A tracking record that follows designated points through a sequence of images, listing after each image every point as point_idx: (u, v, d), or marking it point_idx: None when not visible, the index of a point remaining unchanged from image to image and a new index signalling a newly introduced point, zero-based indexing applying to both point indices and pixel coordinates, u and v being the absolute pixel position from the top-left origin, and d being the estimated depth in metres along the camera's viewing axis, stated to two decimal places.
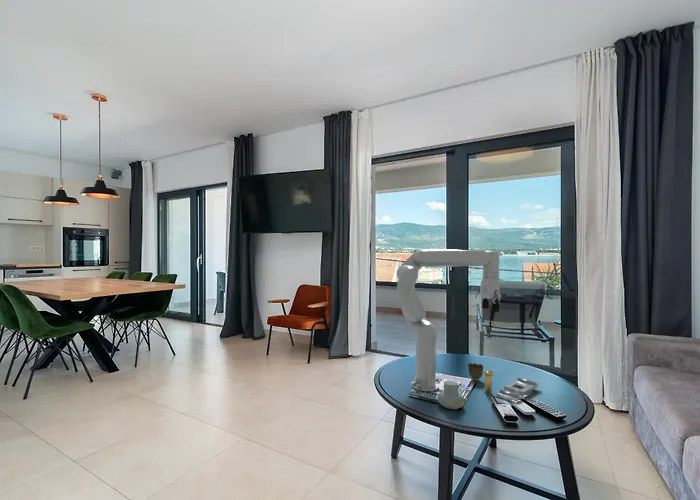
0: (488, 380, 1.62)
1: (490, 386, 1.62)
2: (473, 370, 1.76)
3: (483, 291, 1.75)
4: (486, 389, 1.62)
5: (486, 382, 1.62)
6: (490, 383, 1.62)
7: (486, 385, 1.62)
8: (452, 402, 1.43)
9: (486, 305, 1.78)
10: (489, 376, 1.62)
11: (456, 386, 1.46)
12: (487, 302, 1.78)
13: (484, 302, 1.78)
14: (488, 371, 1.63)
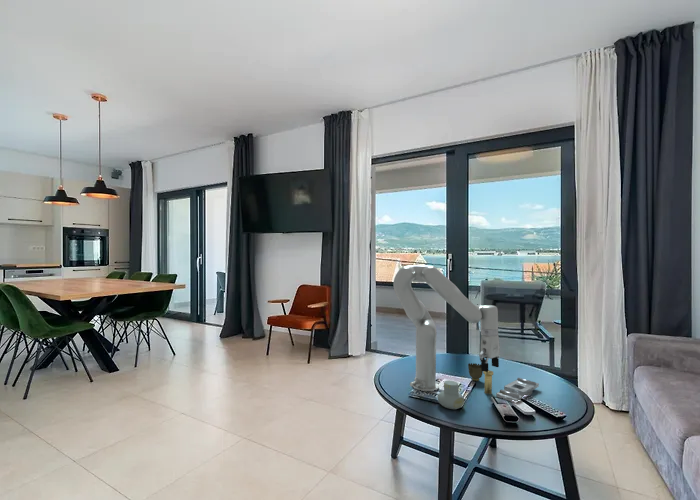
0: (488, 380, 1.62)
1: (490, 386, 1.62)
2: (473, 370, 1.76)
3: (493, 351, 1.60)
4: (486, 389, 1.62)
5: (486, 382, 1.62)
6: (490, 383, 1.62)
7: (486, 385, 1.62)
8: (452, 402, 1.43)
9: None
10: (489, 376, 1.62)
11: (456, 386, 1.46)
12: None
13: None
14: (488, 371, 1.63)
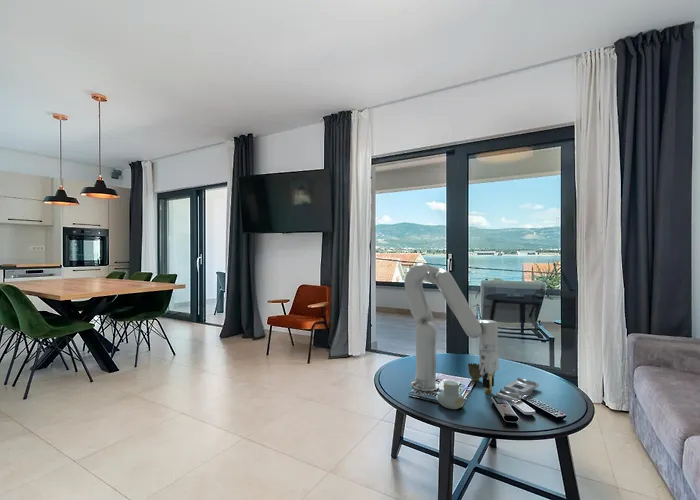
0: None
1: (490, 386, 1.62)
2: (473, 370, 1.76)
3: (492, 366, 1.60)
4: (486, 389, 1.62)
5: None
6: (490, 383, 1.62)
7: None
8: (452, 402, 1.43)
9: None
10: (489, 376, 1.62)
11: (456, 386, 1.46)
12: None
13: None
14: None
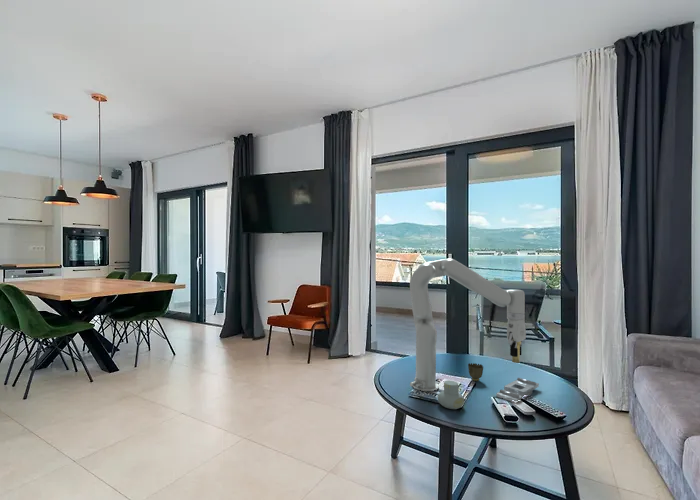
0: None
1: (518, 355, 1.62)
2: (473, 370, 1.76)
3: (520, 335, 1.60)
4: (514, 358, 1.63)
5: None
6: (518, 352, 1.62)
7: None
8: (452, 402, 1.43)
9: None
10: (517, 345, 1.62)
11: (456, 386, 1.46)
12: None
13: None
14: None
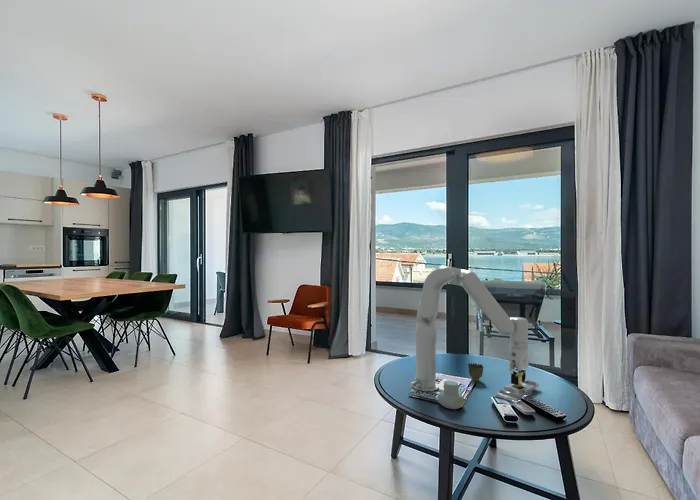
0: (518, 380, 1.62)
1: (520, 386, 1.62)
2: (473, 370, 1.76)
3: (522, 363, 1.60)
4: None
5: None
6: (520, 383, 1.62)
7: (516, 385, 1.63)
8: (452, 402, 1.43)
9: None
10: (519, 376, 1.62)
11: (456, 386, 1.46)
12: None
13: None
14: None
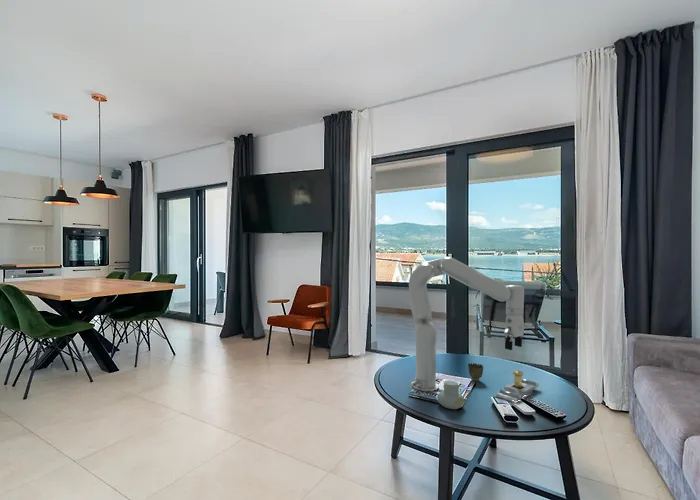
0: (518, 380, 1.62)
1: (520, 386, 1.62)
2: (473, 370, 1.76)
3: (518, 330, 1.61)
4: None
5: (516, 382, 1.63)
6: (520, 383, 1.62)
7: (516, 385, 1.62)
8: (452, 402, 1.43)
9: None
10: (519, 376, 1.62)
11: (456, 386, 1.46)
12: None
13: None
14: (518, 371, 1.64)
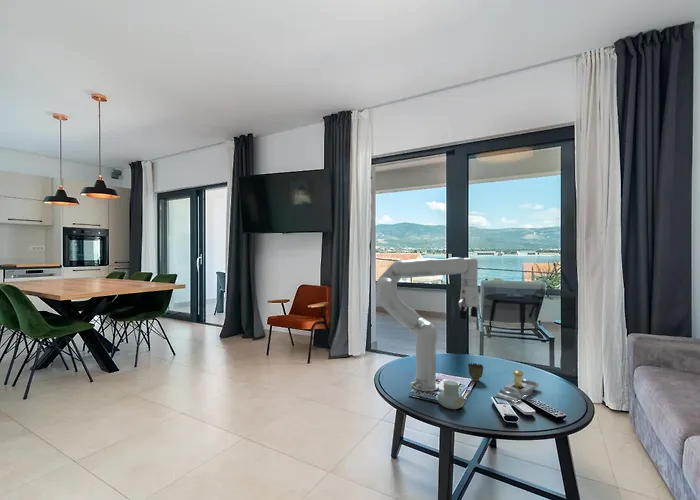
0: (518, 380, 1.62)
1: (520, 386, 1.62)
2: (473, 370, 1.76)
3: (472, 300, 1.69)
4: None
5: (516, 382, 1.63)
6: (520, 383, 1.62)
7: (516, 385, 1.62)
8: (452, 402, 1.43)
9: None
10: (519, 376, 1.62)
11: (456, 386, 1.46)
12: None
13: None
14: (518, 371, 1.64)
